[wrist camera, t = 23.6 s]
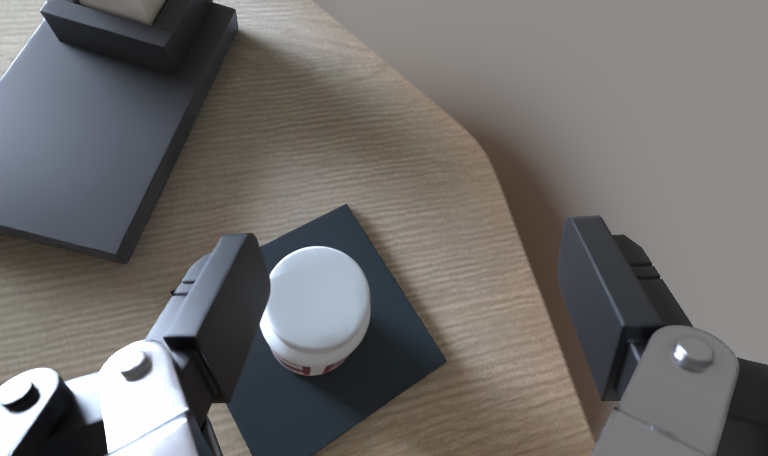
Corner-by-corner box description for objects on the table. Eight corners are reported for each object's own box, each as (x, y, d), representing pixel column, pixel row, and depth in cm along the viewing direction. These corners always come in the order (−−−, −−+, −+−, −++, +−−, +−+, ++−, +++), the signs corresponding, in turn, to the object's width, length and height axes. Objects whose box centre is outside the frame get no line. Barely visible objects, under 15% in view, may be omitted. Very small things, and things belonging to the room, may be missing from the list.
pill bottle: (349, 283, 26) (370, 230, 18) (360, 368, 24) (390, 350, 17) (264, 293, 25) (249, 241, 17) (270, 383, 23) (256, 370, 16)
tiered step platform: (241, 23, 32) (233, -26, 28) (127, 265, 25) (97, 239, 21) (97, -19, 31) (71, -77, 27) (-64, 216, 24) (-130, 181, 20)
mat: (345, 206, 28) (346, 203, 28) (445, 361, 26) (447, 360, 25) (171, 293, 24) (169, 291, 24) (268, 485, 22) (267, 486, 22)
